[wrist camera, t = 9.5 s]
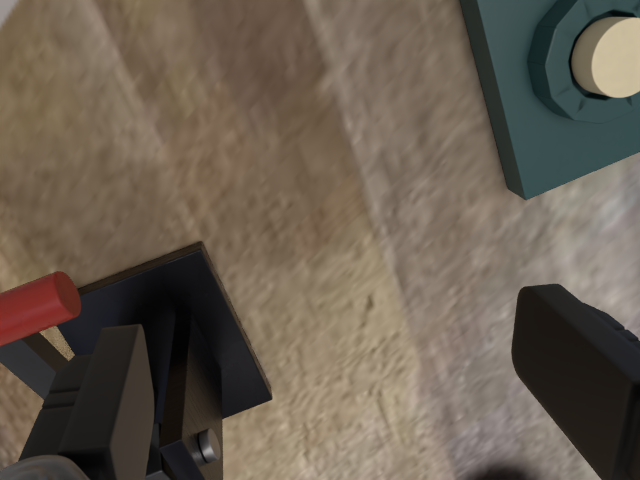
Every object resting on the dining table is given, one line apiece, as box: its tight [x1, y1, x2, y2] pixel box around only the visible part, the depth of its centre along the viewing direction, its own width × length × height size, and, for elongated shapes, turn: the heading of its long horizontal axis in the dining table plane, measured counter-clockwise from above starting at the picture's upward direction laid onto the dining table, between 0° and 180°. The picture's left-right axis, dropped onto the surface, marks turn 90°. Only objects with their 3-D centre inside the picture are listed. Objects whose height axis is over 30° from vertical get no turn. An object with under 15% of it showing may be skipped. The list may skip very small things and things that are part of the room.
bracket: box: [56, 242, 272, 480], centre depth 30 cm, size 11×9×12 cm
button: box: [571, 17, 640, 98], centre depth 28 cm, size 4×4×2 cm
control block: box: [460, 0, 640, 200], centre depth 30 cm, size 13×10×4 cm
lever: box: [0, 271, 178, 480], centre depth 22 cm, size 13×5×2 cm, turn 19°
